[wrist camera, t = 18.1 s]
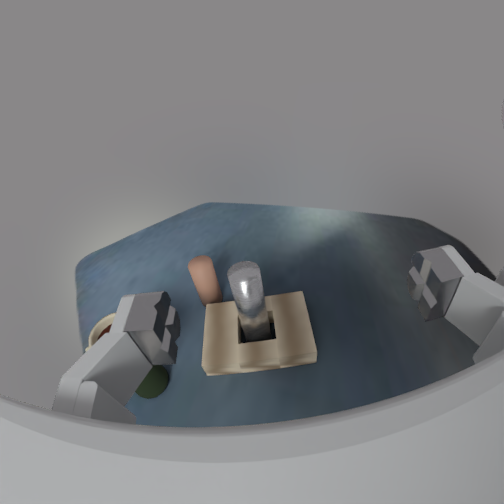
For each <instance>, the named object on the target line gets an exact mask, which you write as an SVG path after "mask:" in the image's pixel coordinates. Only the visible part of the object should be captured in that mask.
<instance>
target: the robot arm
mask: <svg viewBox="0 0 504 504" xmlns="http://www.w3.org/2000/svg"><path fill="white" fill-rule="evenodd" d="M502 121H503V127H504V101H503V106H502ZM411 262H412V264H413V267H412V269H411V270H410V271H409V273H408V277H407V285H408V290H409V293H410V295H411V296H412V298H413V299H415V300H416V301H418V302H419V303H418V309H419V311H420V313H421V314H422V316H423V318H424V320H425V322H426V321H430V320H434V319H437V318H440V317H444V316H445V317H444V318H446V319H447V320H448V321H449V322H451V323H452V324H453V325H455V326H456V327H457V328H458V329H459V330H461V331H462V332H463V333H464V334H466V335H467V336H468V337H469V338H471V339H472V340H473V341H474V342H475V343H477V344H478V345H479V346H480V347H479V348H478V350H477V351H476V353H475V354H474V356H473V360H474V362H475V365H473V366H471V367H469V368H467V369H464V370H462V371H460V372H458V373H456V374H453V375H451V376H449V377H447V378H444V379H442V380H439V381H437V382H434V383H432V384H429V385H427V386H424V387H421V388H419V389H416V390H413V391H410V392H407V393H404V394H401V395H398V396H395V397H392V398H389V399H386V400H382V401H379V402H375V403H372V404H368V405H365V406H361V407H357V408H353V409H349V410H344V411H340V412H335V413H331V414H326V415H321V416H315V417H310V418H304V419H297V420H291V421H284V422H276V423H267V424H257V425H245V426H229V427H163V426H147V425H136V417H135V415H134V414H133V413H131V412H130V411H129V410H128V409H126V408H125V407H124V406H125V405H126V404H127V402H128V401H129V399H130V398H131V396H132V395H133V394H134V392H135V391H136V389H137V388H138V386H139V385H140V384H141V382H142V381H143V379H144V378H145V377H146V375H147V374H148V372H149V371H150V370H151V368H152V367H153V366H152V365H166V364H176V357H177V350H178V346H177V345H176V343H175V341H176V339H177V338H178V337H179V336H180V319H179V316H178V313H177V311H176V309H175V308H173V307H172V306H170V302H171V299H170V297H169V295H168V293H167V292H165V291H162V292H151V293H140V294H133V295H124V296H123V297H122V298H121V301H120V304H119V306H118V309H117V312H116V314H115V317H114V320H113V323H112V326H111V329H110V332H109V333H105V334H104V335H103V336H102V337H101V338H100V339H99V340H98V341H97V342H96V343H95V344H94V345H93V346H92V347H91V348H90V349H89V350H88V351H87V352H86V353H85V354H84V355H83V356H82V357H81V358H80V359H79V360H78V361H77V362H76V363H75V364H74V365H73V366H72V367H71V368H70V369H69V370H68V371H67V372H66V373H65V374H64V375H63V376H62V378H61V380H60V384H59V387H58V390H57V393H56V396H55V400H54V403H53V407H52V410H49V409H45V408H42V407H38V406H34V405H31V404H27V403H24V402H21V401H18V400H15V399H12V398H9V397H6V396H4V395H1V394H0V504H504V267H503V268H502V269H501V271H500V273H499V275H498V277H497V278H496V280H495V282H494V281H492V280H490V279H489V278H487V277H485V276H483V275H481V274H479V273H474V271H473V270H472V269H471V268H470V266H469V265H468V264H467V263H466V262H465V260H464V259H463V258H462V257H461V256H460V254H459V253H458V252H457V251H456V250H455V249H454V247H453V246H451V245H446V246H441V247H438V248H433V249H428V250H423V251H418V252H415V253H414V255H413V257H412V261H411Z"/></svg>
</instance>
